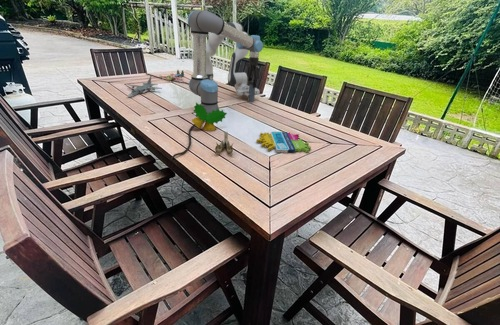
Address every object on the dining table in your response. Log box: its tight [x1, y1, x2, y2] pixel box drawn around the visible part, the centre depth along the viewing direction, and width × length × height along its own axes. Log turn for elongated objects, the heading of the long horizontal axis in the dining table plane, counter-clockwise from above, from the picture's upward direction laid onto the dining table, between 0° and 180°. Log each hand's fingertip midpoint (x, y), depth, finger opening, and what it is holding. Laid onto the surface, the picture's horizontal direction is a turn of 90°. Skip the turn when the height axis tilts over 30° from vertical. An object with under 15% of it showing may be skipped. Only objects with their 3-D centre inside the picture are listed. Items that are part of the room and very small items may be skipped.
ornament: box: [191, 102, 228, 132], centre depth 162 cm, size 21×8×15 cm, turn 105°
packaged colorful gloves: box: [256, 131, 312, 154], centre depth 152 cm, size 26×2×30 cm
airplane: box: [127, 75, 162, 98], centre depth 225 cm, size 38×32×10 cm
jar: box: [247, 84, 256, 103], centre depth 219 cm, size 5×5×16 cm
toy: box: [159, 69, 185, 82], centre depth 278 cm, size 28×7×30 cm
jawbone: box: [214, 131, 234, 156], centre depth 136 cm, size 9×15×10 cm
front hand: (252, 86), depth 217 cm, fingers closed on lid, 6 cm apart
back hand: (252, 94), depth 220 cm, fingers closed on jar, 5 cm apart
